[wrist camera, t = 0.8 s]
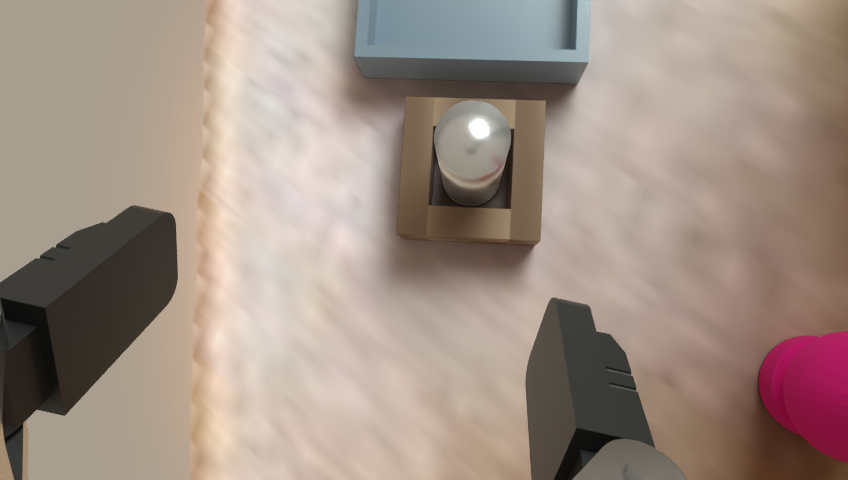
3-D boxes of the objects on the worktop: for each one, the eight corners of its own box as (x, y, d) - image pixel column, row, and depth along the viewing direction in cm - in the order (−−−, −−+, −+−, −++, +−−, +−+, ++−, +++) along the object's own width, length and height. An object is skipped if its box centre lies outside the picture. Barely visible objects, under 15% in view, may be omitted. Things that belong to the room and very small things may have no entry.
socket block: (539, 116, 39) (545, 100, 36) (534, 245, 38) (540, 240, 35) (410, 111, 39) (405, 96, 36) (402, 238, 38) (396, 233, 35)
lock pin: (501, 150, 39) (512, 101, 29) (498, 207, 38) (509, 176, 29) (443, 147, 39) (436, 99, 29) (440, 204, 38) (431, 173, 29)
